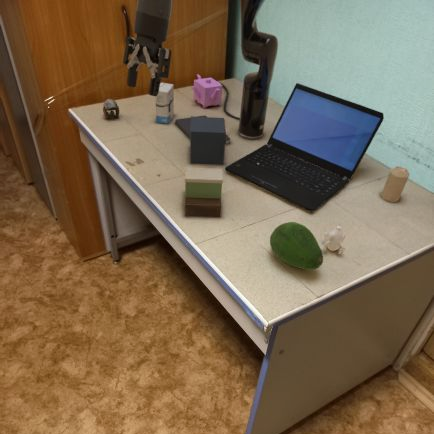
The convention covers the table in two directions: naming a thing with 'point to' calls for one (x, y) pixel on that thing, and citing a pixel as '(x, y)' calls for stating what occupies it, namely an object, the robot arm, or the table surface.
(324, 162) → the laptop
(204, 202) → the low shelf
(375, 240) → the table surface
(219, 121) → the blue box
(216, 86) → the teapot
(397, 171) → the candle
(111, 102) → the helmet
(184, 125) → the notebook
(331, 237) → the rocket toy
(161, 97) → the ink box
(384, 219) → the table surface
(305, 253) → the fruit
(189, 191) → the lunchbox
